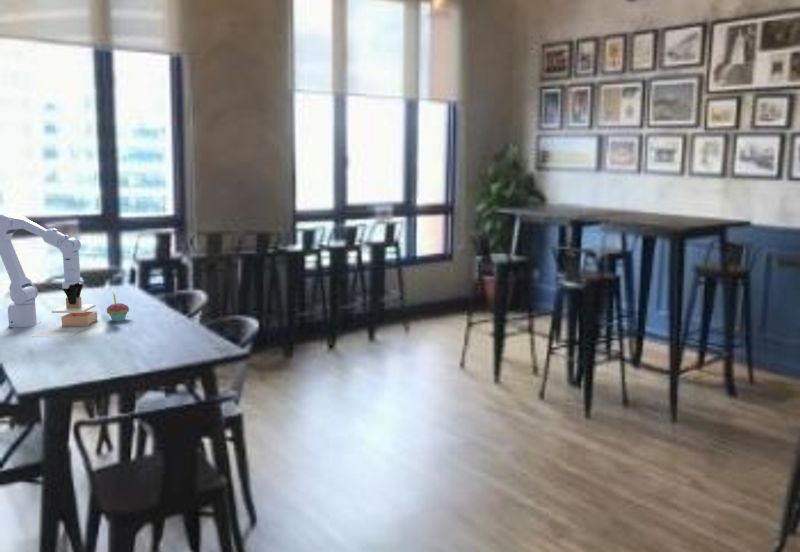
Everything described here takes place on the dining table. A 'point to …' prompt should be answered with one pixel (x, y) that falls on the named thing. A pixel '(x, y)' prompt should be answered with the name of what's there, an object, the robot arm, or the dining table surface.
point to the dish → (79, 318)
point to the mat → (58, 332)
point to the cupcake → (117, 311)
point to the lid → (74, 307)
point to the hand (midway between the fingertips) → (74, 303)
